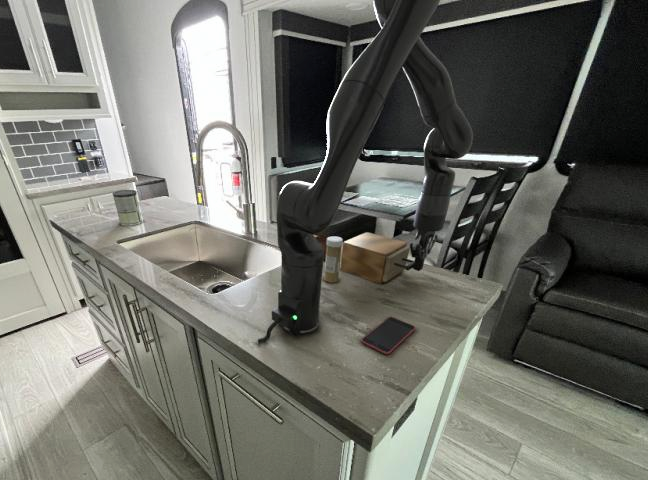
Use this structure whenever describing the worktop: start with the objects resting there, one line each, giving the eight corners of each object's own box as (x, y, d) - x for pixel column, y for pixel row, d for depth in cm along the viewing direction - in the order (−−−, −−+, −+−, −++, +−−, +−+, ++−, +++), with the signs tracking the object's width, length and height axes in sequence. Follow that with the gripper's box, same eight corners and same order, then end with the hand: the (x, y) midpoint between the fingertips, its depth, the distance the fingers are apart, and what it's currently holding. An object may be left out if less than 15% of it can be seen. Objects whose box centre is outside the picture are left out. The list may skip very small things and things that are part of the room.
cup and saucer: (338, 263, 111) (339, 246, 108) (303, 259, 114) (304, 243, 111) (340, 250, 121) (342, 234, 118) (309, 247, 124) (310, 232, 121)
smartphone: (359, 339, 73) (389, 315, 81) (359, 341, 73) (389, 317, 81) (388, 354, 68) (417, 326, 77) (387, 356, 69) (416, 328, 77)
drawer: (419, 274, 101) (425, 251, 97) (401, 287, 94) (406, 262, 90) (368, 258, 112) (371, 236, 108) (347, 268, 105) (350, 246, 101)
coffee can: (117, 222, 154) (109, 191, 147) (138, 218, 160) (132, 188, 153) (124, 227, 148) (116, 195, 140) (146, 222, 153) (139, 192, 146)
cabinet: (401, 270, 106) (407, 242, 101) (380, 284, 98) (385, 254, 93) (362, 258, 115) (366, 232, 110) (340, 269, 107) (343, 242, 102)
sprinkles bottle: (341, 280, 100) (346, 239, 93) (330, 284, 97) (334, 242, 91) (331, 275, 103) (335, 234, 96) (320, 278, 101) (323, 237, 94)
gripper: (428, 203, 92) (415, 259, 101) (406, 212, 84) (394, 272, 93) (455, 208, 87) (439, 266, 96) (435, 218, 79) (419, 280, 88)
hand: (417, 269), depth 95 cm, fingers closed
